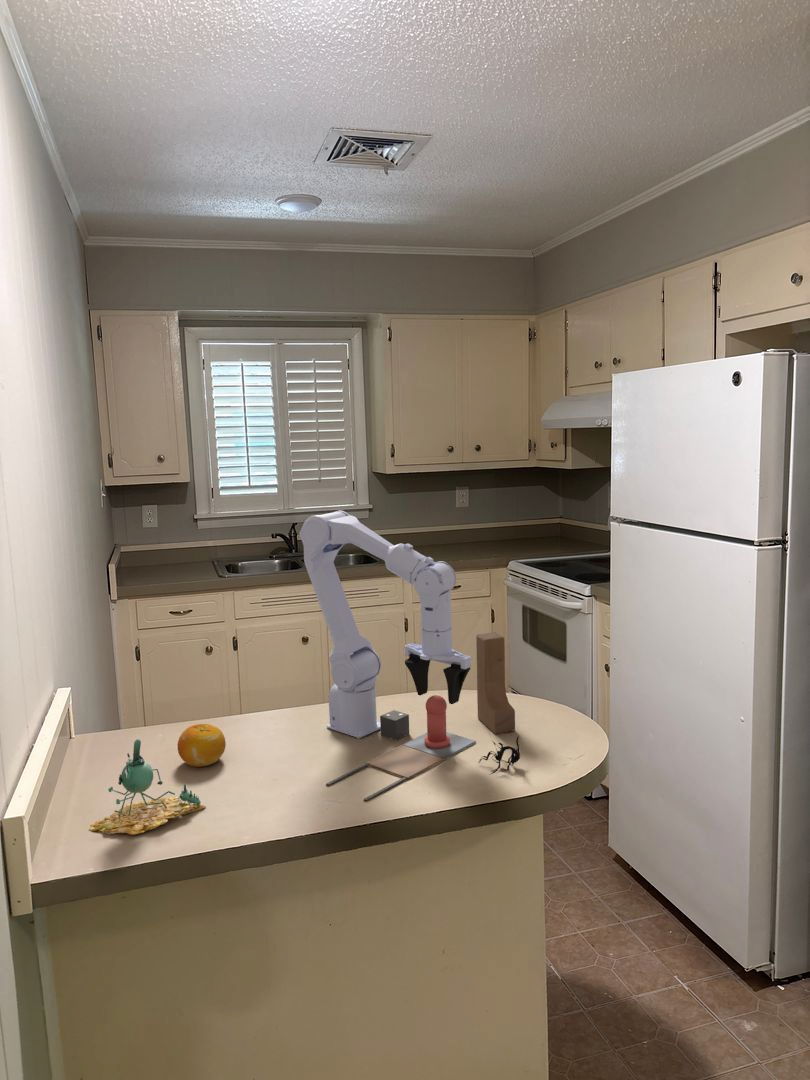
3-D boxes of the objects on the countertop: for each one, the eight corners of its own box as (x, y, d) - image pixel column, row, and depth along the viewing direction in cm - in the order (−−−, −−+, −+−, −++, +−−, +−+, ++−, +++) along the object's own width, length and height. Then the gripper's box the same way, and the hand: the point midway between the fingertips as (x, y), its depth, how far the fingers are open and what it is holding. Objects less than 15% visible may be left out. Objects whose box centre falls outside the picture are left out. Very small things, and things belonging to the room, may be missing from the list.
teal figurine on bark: (205, 830, 122) (187, 741, 120) (84, 857, 119) (63, 766, 117) (209, 800, 132) (192, 717, 129) (96, 824, 129) (77, 740, 126)
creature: (479, 781, 138) (524, 774, 136) (471, 752, 137) (516, 744, 136) (482, 762, 146) (525, 754, 144) (475, 734, 145) (518, 727, 143)
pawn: (419, 744, 150) (417, 696, 149) (435, 736, 154) (434, 689, 152) (439, 751, 147) (437, 702, 146) (454, 742, 151) (453, 694, 149)
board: (325, 784, 136) (325, 782, 136) (435, 730, 158) (435, 728, 158) (367, 802, 129) (367, 799, 129) (475, 742, 151) (475, 740, 151)
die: (380, 735, 156) (380, 715, 156) (394, 729, 159) (393, 709, 159) (395, 740, 154) (395, 720, 153) (409, 733, 157) (408, 714, 156)
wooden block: (515, 731, 156) (514, 643, 153) (494, 734, 155) (493, 645, 152) (497, 715, 165) (495, 631, 162) (477, 718, 163) (475, 634, 161)
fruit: (209, 758, 140) (204, 714, 143) (170, 772, 142) (165, 728, 145) (236, 761, 147) (231, 719, 150) (198, 774, 149) (193, 732, 153)
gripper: (393, 626, 149) (395, 695, 151) (454, 639, 140) (455, 712, 142) (417, 619, 155) (419, 685, 157) (477, 630, 145) (478, 701, 147)
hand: (437, 698), depth 150 cm, fingers open, 7 cm apart
